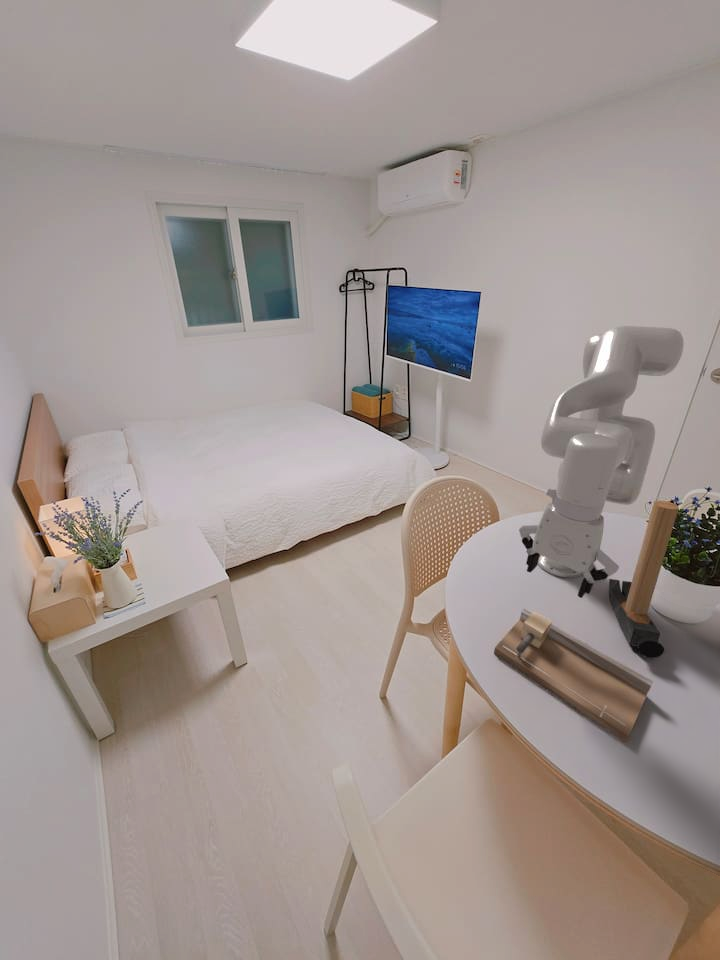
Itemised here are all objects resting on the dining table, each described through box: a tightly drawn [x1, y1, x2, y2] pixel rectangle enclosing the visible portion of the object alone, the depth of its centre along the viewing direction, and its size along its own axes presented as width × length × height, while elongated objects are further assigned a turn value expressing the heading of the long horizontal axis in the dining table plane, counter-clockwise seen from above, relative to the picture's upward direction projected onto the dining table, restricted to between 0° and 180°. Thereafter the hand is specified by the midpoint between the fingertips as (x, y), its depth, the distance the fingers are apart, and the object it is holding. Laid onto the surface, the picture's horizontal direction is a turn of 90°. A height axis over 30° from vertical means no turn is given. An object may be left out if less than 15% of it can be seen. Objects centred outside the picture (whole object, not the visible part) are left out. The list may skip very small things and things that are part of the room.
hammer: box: [608, 500, 679, 659], centre depth 86 cm, size 20×5×30 cm, turn 165°
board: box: [493, 608, 654, 743], centre depth 79 cm, size 12×25×4 cm, turn 44°
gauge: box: [517, 611, 553, 657], centre depth 83 cm, size 9×4×4 cm, turn 134°
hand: (556, 580), depth 77 cm, fingers open, 9 cm apart
